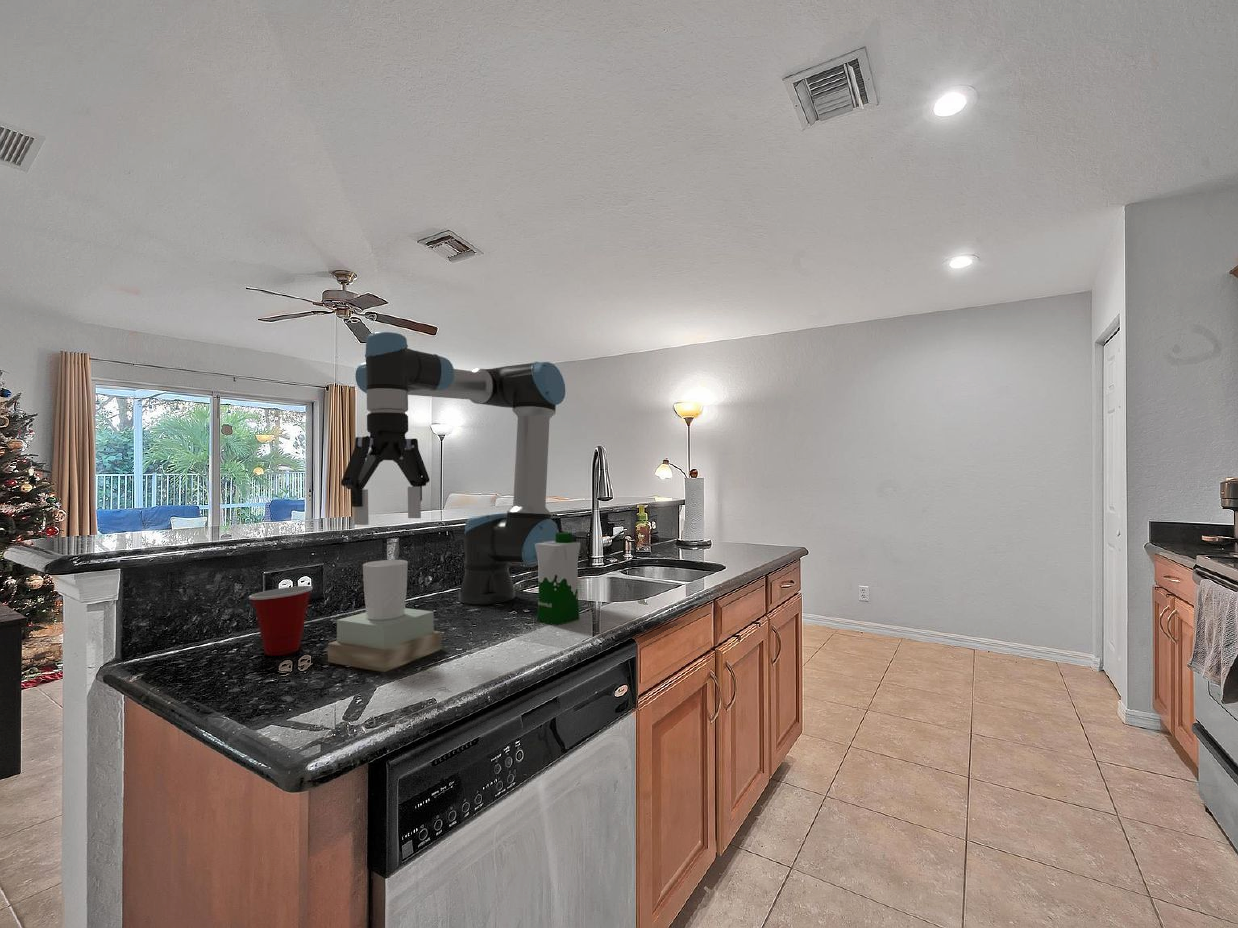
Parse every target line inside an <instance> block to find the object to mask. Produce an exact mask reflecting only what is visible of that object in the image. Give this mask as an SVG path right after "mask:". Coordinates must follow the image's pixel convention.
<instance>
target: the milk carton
mask: <svg viewBox="0 0 1238 928" xmlns="http://www.w3.org/2000/svg"><path fill="white" fill-rule="evenodd" d="M573 538H574V537H573V532H559V533H556V539H555V540H556V541H550V542H543V543H537V544H535V548H536V553H537V558H538V564H537V565H538V566H537V567H538V571H537V573H538V574H537V575H538V577H537V579H538V580H537V582H538V583H537V584H538V593H537V595H538V598H537V599H538V600H537V603H538V604H537V615H536V617H537V618H536V621H537V622H543V623H545V624H549V625H550V624H551V625H554V626H559V625H563V624H568V623H571V622H575V621H579V620H580V609H579V608H580V607H579V592H578V591H579V585H578V583H579V578H578V577H579V574H578V570H579V569H578V566H579V565H578V562H579V561H578V560H579V555H580V551H581V542H580V541H579V542H577V541H574V540H573Z"/></svg>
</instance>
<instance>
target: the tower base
mask: <svg viewBox="0 0 1238 928" xmlns="http://www.w3.org/2000/svg"><path fill="white" fill-rule="evenodd" d="M441 650H442V631H441V630H440V631H439V630H434V632H433V633H430V634H428V635H425V636H422V637H419V638H416V639H413V640H410V641H407V642H405V643H402V644H399V645H396V646H393V647H390V648H387V649H384V650H382V649H376V648H371V647H365V646H359V645H353V644H347V643H341V642H337V640H334V641H332V642H329V643H327V663H330V664H335V665H342V666H349V667H353V668H360V669H364V670H369V671H370V670H371V671H375V672H376V671H377V672H381V673H386V672H389V671H391V670H394V669H396V668H399V667H401V666H403V665H407V664H409V663H411V662H413V661H416V660H419V659H421V658H424V657H425V656H428V655H431V654H433V653H435V652H438V651H441Z"/></svg>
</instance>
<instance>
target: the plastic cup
mask: <svg viewBox="0 0 1238 928" xmlns="http://www.w3.org/2000/svg"><path fill="white" fill-rule="evenodd" d="M312 590H313V586H312V585H298V586H289V587H288V586H287V587H281V588H275V589H270V590H264V591H260V592H257V593H253V594H251V595H249V596H248V599H249V600H250V601H251V603H252V605H253V608H254V611H255V612H256V614H255V615H256V619H257V622H258V623H257V624H258V628H259V635H260V638H261V641H262V646H263V651H264V653H265V655H267V656H274V657H275V656H285V655H290V654H294V653H296V652H297V651H299V649H300V646H301V642H302V638H303V637H302V636H303V632H304V627H305V622H306V615H307V610H308V604H309V599H310V595H311V592H312Z"/></svg>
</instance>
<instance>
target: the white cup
mask: <svg viewBox="0 0 1238 928" xmlns="http://www.w3.org/2000/svg"><path fill="white" fill-rule="evenodd" d="M408 564H409V563H408V561H407V560H404V559H387V560H386V559H385V560H376V561H375V560H374V561H369V562H365V563H364V564H362V574H363V577H362V578H363V593H364V604H365V612H366V618H368V619H370V620H386V619H393V618H398V617H401V616H403V615H404V614H405V608H406V599H407V591H408V590H407V589H408V567H409V566H408Z"/></svg>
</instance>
